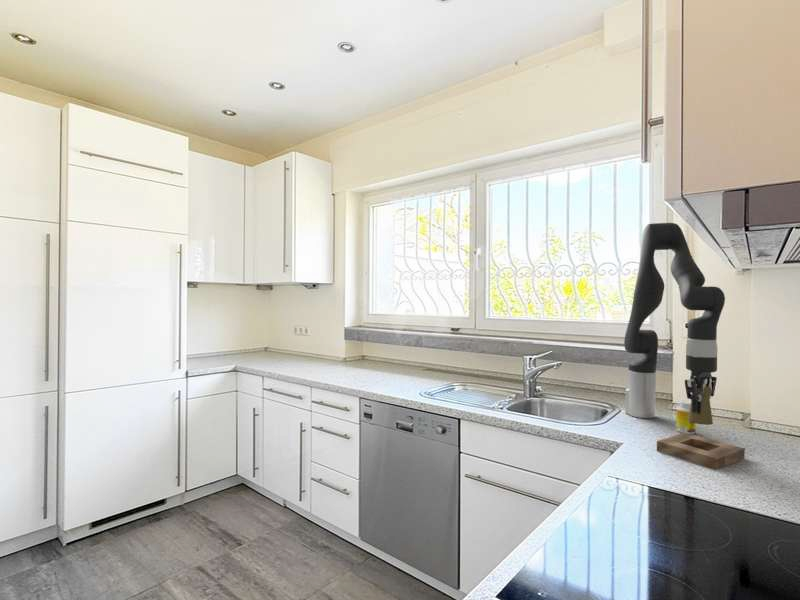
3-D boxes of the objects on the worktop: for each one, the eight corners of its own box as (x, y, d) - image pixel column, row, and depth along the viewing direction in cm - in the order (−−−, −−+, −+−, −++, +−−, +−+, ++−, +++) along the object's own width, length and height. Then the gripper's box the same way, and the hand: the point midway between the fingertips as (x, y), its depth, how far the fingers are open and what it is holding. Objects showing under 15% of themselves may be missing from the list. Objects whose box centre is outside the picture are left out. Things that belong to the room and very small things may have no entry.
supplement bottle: (690, 435, 144) (691, 405, 143) (672, 430, 148) (673, 401, 148) (698, 432, 146) (699, 402, 146) (681, 428, 151) (681, 399, 151)
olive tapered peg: (689, 417, 131) (689, 381, 130) (713, 421, 127) (714, 384, 127) (686, 421, 126) (687, 384, 126) (712, 426, 122) (712, 387, 122)
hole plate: (656, 450, 129) (656, 440, 129) (684, 441, 138) (684, 432, 138) (717, 470, 116) (717, 459, 116) (744, 458, 124) (744, 448, 124)
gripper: (699, 351, 133) (698, 406, 133) (674, 354, 126) (673, 412, 126) (727, 354, 126) (726, 412, 127) (703, 357, 119) (702, 419, 120)
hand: (700, 412), depth 126 cm, fingers closed on olive tapered peg, 4 cm apart
